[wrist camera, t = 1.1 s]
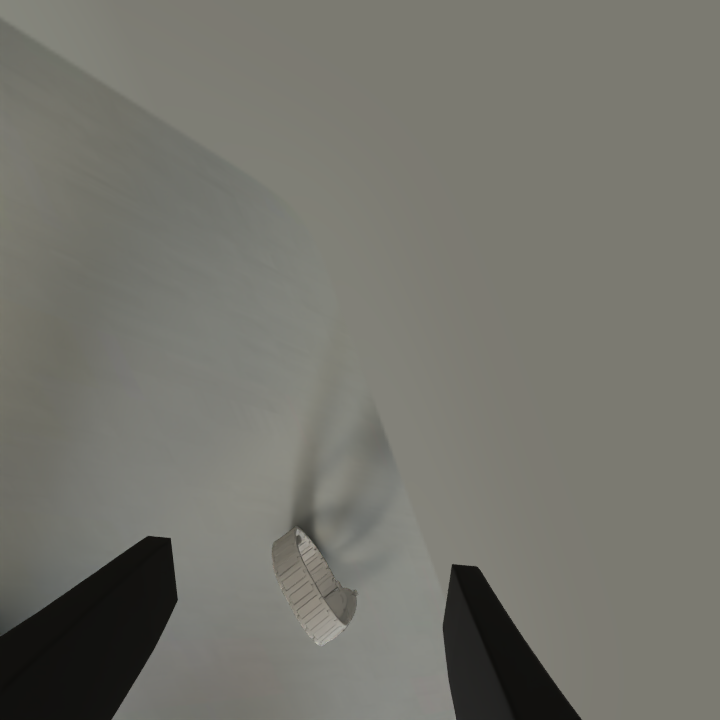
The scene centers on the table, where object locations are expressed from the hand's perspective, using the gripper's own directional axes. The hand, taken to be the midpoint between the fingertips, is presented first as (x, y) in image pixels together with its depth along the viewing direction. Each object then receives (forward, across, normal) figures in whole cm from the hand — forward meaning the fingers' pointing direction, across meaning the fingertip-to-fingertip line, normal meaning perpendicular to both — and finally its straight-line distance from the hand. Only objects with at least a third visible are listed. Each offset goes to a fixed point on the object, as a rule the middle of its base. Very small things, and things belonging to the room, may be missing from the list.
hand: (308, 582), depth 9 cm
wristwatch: (+9, +2, +8) cm, 13 cm away
